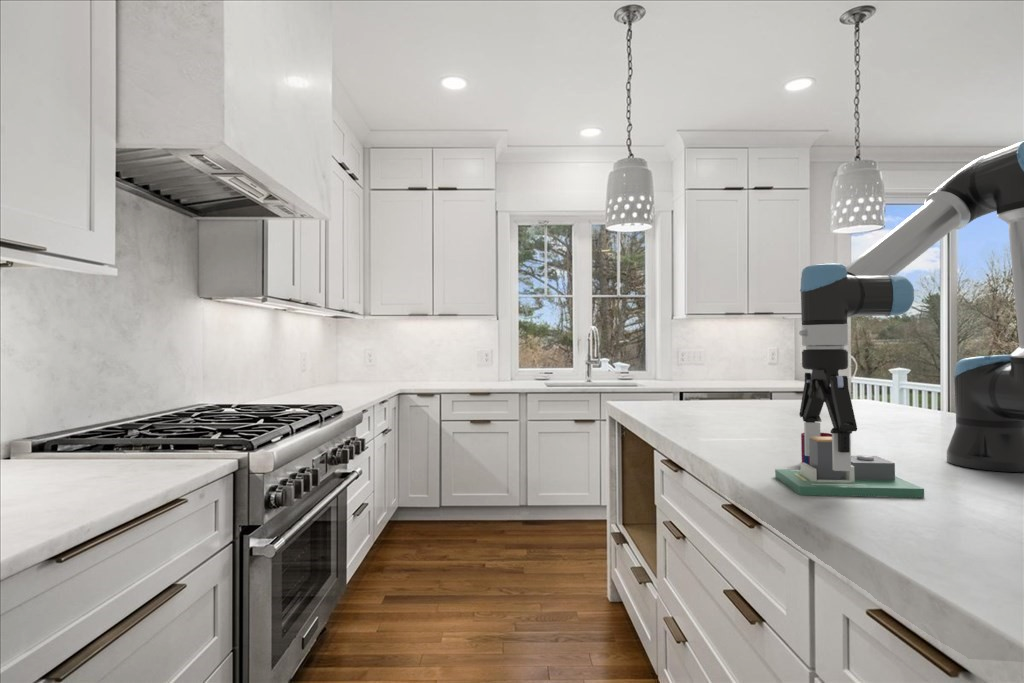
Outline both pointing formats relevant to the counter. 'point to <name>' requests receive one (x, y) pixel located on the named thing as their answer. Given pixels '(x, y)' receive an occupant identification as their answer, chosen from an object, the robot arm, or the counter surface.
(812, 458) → the grey upright block
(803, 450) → the mug
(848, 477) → the board
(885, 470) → the grey box with tab
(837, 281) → the robot arm
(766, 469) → the counter surface
